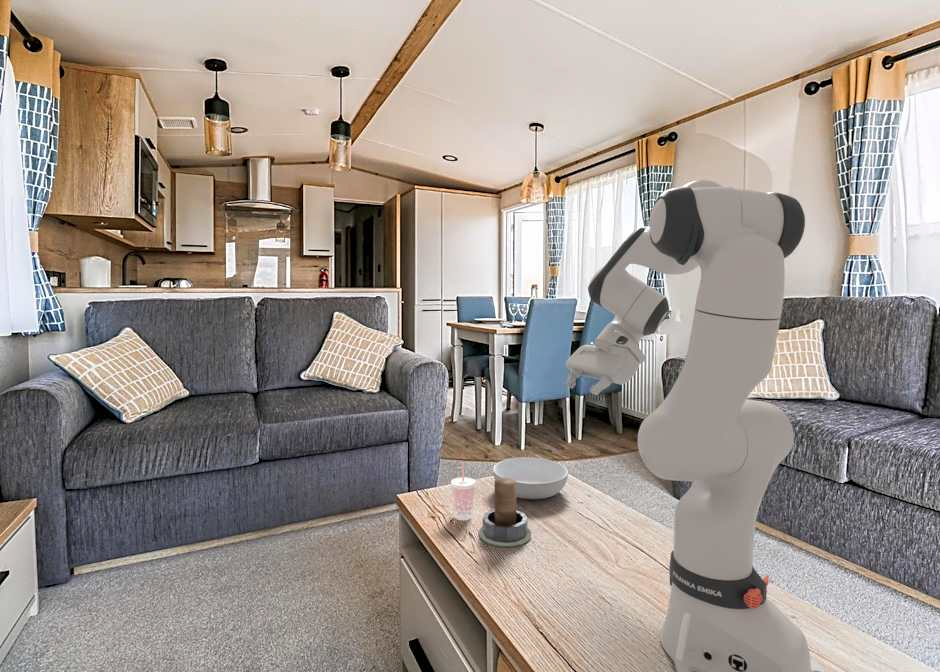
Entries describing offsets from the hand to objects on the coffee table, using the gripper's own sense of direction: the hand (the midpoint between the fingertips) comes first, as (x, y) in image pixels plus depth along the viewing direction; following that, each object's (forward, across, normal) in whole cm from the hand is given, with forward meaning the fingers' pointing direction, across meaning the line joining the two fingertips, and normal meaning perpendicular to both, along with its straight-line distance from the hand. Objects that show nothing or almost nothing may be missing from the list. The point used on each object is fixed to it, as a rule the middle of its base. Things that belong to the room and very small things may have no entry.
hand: (580, 389), depth 120 cm
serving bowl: (+23, -23, +24) cm, 41 cm away
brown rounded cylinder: (+36, -4, +10) cm, 37 cm away
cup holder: (+36, -4, +11) cm, 38 cm away
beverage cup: (+40, -17, +8) cm, 44 cm away
